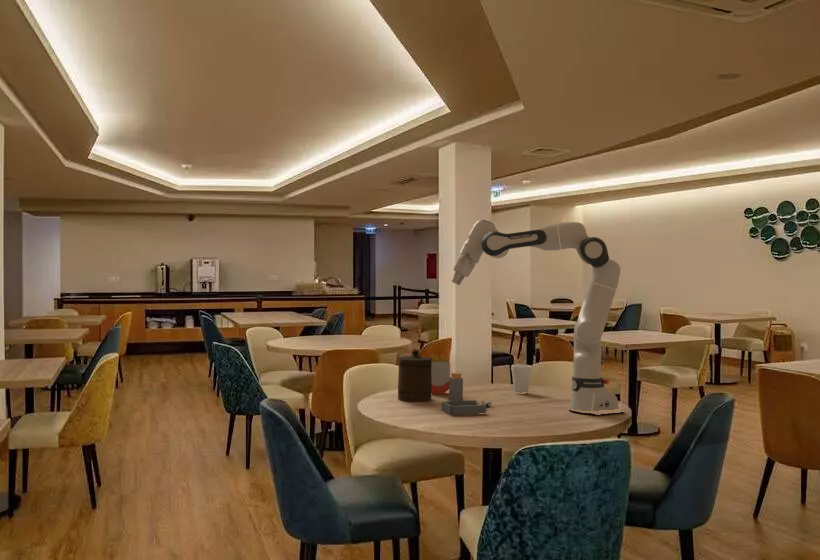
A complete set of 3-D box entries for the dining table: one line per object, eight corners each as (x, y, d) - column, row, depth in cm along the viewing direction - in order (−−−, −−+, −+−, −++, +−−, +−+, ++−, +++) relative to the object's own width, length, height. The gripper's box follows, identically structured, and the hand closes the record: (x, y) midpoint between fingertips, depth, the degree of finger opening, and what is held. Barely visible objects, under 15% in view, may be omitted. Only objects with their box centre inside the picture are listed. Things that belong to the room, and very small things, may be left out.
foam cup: (507, 392, 328) (507, 364, 328) (523, 391, 332) (523, 364, 332) (518, 395, 319) (518, 367, 319) (534, 394, 323) (535, 366, 323)
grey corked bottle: (458, 405, 293) (459, 372, 293) (462, 407, 288) (463, 373, 288) (448, 405, 291) (449, 372, 291) (452, 407, 287) (453, 374, 287)
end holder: (475, 408, 286) (475, 400, 285) (486, 414, 275) (486, 405, 275) (441, 410, 281) (441, 401, 281) (450, 415, 271) (450, 406, 271)
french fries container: (427, 391, 325) (427, 353, 324) (450, 392, 323) (450, 354, 323) (425, 393, 320) (426, 354, 320) (448, 394, 318) (449, 355, 318)
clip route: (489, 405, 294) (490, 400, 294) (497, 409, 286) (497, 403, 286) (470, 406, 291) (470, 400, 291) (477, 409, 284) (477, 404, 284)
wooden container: (417, 394, 316) (418, 346, 316) (438, 400, 304) (439, 350, 304) (391, 397, 307) (392, 348, 307) (410, 403, 295) (412, 351, 295)
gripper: (473, 255, 284) (457, 285, 285) (479, 260, 304) (465, 288, 305) (459, 248, 286) (444, 278, 286) (467, 254, 306) (453, 282, 306)
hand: (455, 283), depth 296 cm, fingers open, 8 cm apart
